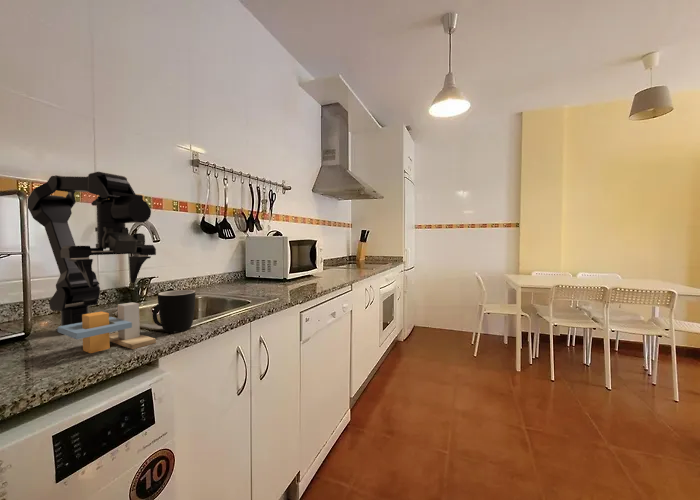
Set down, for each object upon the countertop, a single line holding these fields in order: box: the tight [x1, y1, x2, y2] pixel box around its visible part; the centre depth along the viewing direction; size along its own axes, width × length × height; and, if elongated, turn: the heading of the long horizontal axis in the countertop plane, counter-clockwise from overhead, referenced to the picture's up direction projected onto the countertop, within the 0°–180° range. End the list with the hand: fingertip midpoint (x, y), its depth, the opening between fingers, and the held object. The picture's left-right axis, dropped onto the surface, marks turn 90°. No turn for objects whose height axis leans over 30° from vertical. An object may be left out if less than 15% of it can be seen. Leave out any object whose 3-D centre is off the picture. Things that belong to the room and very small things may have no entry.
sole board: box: [109, 331, 157, 350], centre depth 76 cm, size 14×5×1 cm, turn 59°
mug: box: [152, 289, 196, 333], centre depth 84 cm, size 12×9×10 cm
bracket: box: [57, 302, 141, 340], centre depth 71 cm, size 10×13×8 cm
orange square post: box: [82, 311, 111, 354], centre depth 70 cm, size 4×4×8 cm
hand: (113, 284), depth 80 cm, fingers open, 9 cm apart
